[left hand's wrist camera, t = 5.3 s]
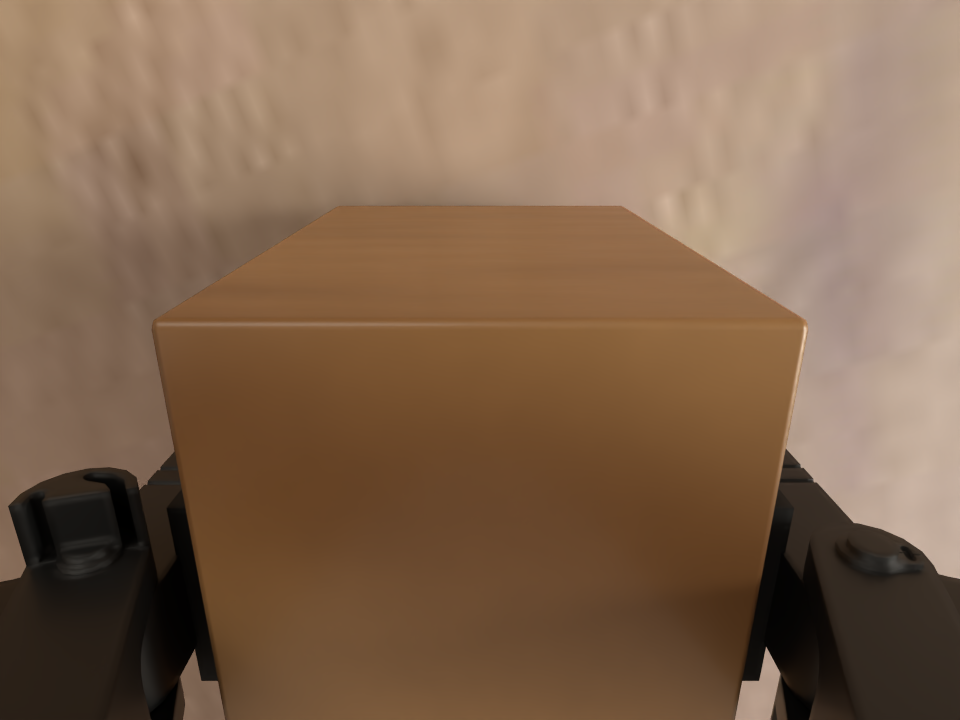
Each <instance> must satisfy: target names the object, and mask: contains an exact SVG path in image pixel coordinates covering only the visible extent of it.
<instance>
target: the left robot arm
mask: <svg viewBox="0 0 960 720" xmlns="http://www.w3.org/2000/svg"><path fill="white" fill-rule="evenodd" d="M8 507H9V510H10V514H11V517H12V520H13V523H14V527H15V530H16V533H17V536H18V540H19V543H20V546H21V550H22V553H23V556H24V559H25V563H26V568H25V570H24V572H23V574H22V576H21V578H17V579H13V580H8V581H3V582H0V720H183V716H184V708H185V701H184V694H183V688H182V683H181V679H180V676H181V674H182V672H183V670H184V668H185V666H186V664H187V662H188V661H189V659H190V657H191V655H192V653H193V651H194V649H195V651H196V656H197V661H198V666H199V671H200V676H201V681H218V678H217V672H216V667H215V662H214V656H213V651H212V646H211V641H210V635H209V630H208V625H207V619H206V614H205V609H204V603H203V598H202V593H201V588H200V582H199V577H198V572H197V566H196V561H195V556H194V551H193V545H192V540H191V535H190V529H189V524H188V519H187V513H186V508H185V503H184V498H183V492H182V487H181V482H180V476H179V471H178V466H177V460H176V455H175V452H174V453H173V454H172V455H171V456H170V457H169V458H168V459H167V461H166V462H165V463H164V464H163V465H162V466H161V469H160V470H157V472H156V473H155V474H154V475H153V476H152V477H151V478H150V479H149V480H148V484H147V485H144V486H143V487H142V488H141V489H140V490H139V487H138V483H137V478H136V477H135V476H134V475H132V474H131V473H130V472H128V471H127V470H122V469H116V468H110V467H108V468H89V469H84V470H79V471H75V472H70V473H65V474H62V475H59V476H57V477H54V478H51V479H49V480H46V481H43V482H41V483H39V484H37V485H35V486H34V487H32V488H30V489H28V490H27V491H25V492H23V493H21V494H20V495H19V496H18V497H17V498H16V499H15V500H14V501H13V502H12V503H11V504H10V505H9V506H8ZM766 647H767V649H768V651H769V652H770V654H771V656H772V658H773V660H774V662H775V664H776V665H777V667H778V669H779V671H780V673H781V674H780V679H779V683H778V688H777V693H776V697H775V702H774V706H773V711H772V715H771V720H960V579H957V578H952V577H947V576H943V575H939V574H938V573H937V571H936V569H935V567H934V565H933V564H932V563H931V562H930V561H929V559H928V558H927V557H926V556H925V555H924V553H923V552H922V551H920V550H919V549H917V548H916V547H915V546H913V545H912V544H910V543H909V542H907V541H906V540H904V539H902V538H900V537H898V536H895V535H893V534H891V533H889V532H886V531H884V530H882V529H878V528H874V527H870V526H866V525H862V524H857V523H853V522H852V521H851V520H850V518H849V517H848V516H847V515H846V514H845V513H844V512H843V511H842V510H841V509H840V508H839V506H838V505H837V504H836V503H835V502H834V501H833V500H832V499H831V498H830V497H829V495H828V494H827V493H826V492H825V491H824V490H823V489H822V488H821V487H820V486H819V485H818V483H814V482H813V478H812V477H811V476H810V475H809V474H808V472H807V471H806V470H805V469H804V468H801V467H800V464H799V463H798V462H797V460H796V459H795V458H794V457H793V456H792V455H791V454H790V453H789V452H788V451H787V449H786V450H785V455H784V460H783V466H782V471H781V476H780V482H779V487H778V492H777V498H776V503H775V508H774V514H773V519H772V524H771V530H770V535H769V540H768V545H767V551H766V556H765V561H764V567H763V572H762V577H761V583H760V588H759V593H758V599H757V604H756V609H755V615H754V620H753V625H752V630H751V636H750V641H749V646H748V652H747V657H746V662H745V668H744V673H743V678H742V681H759V678H760V673H761V669H762V664H763V659H764V654H765V649H766Z"/></svg>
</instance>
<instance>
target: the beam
mask: <svg viewBox="0 0 960 720" xmlns="http://www.w3.org/2000/svg"><path fill="white" fill-rule="evenodd" d="M152 333H153V339H154V344H155V349H156V355H157V360H158V365H159V370H160V376H161V381H162V386H163V392H164V397H165V402H166V408H167V413H168V418H169V423H170V429H171V434H172V439H173V445H174V450H175V455H176V460H177V466H178V471H179V476H180V482H181V487H182V492H183V498H184V503H185V508H186V513H187V519H188V524H189V529H190V535H191V540H192V545H193V551H194V556H195V561H196V566H197V572H198V577H199V582H200V588H201V593H202V598H203V603H204V609H205V614H206V619H207V625H208V630H209V635H210V641H211V646H212V651H213V656H214V662H215V667H216V672H217V678H218V683H219V688H220V693H221V699H222V704H223V709H224V715H225V720H735V716H736V710H737V705H738V700H739V694H740V689H741V684H742V678H743V673H744V668H745V662H746V657H747V652H748V646H749V641H750V636H751V630H752V625H753V620H754V615H755V609H756V604H757V599H758V593H759V588H760V583H761V577H762V572H763V567H764V561H765V556H766V551H767V545H768V540H769V535H770V530H771V524H772V519H773V514H774V508H775V503H776V498H777V492H778V487H779V482H780V476H781V471H782V466H783V460H784V455H785V450H786V445H787V439H788V434H789V429H790V423H791V418H792V413H793V407H794V402H795V397H796V391H797V386H798V381H799V375H800V370H801V365H802V360H803V354H804V349H805V344H806V338H807V333H808V326H807V322H806V320H805V319H803V318H802V317H800V316H798V315H797V314H795V313H793V312H792V311H790V310H789V309H787V308H785V307H784V306H782V305H781V304H779V303H777V302H776V301H774V300H773V299H771V298H769V297H768V296H766V295H765V294H763V293H761V292H760V291H758V290H756V289H755V288H753V287H752V286H750V285H748V284H747V283H745V282H744V281H742V280H740V279H739V278H737V277H736V276H734V275H732V274H731V273H729V272H727V271H726V270H724V269H723V268H721V267H719V266H718V265H716V264H715V263H713V262H711V261H710V260H708V259H707V258H705V257H703V256H702V255H700V254H699V253H697V252H695V251H694V250H692V249H690V248H689V247H687V246H686V245H684V244H682V243H681V242H679V241H678V240H676V239H674V238H673V237H671V236H670V235H668V234H666V233H665V232H663V231H661V230H660V229H658V228H657V227H655V226H653V225H652V224H650V223H649V222H647V221H645V220H644V219H642V218H641V217H639V216H637V215H636V214H634V213H632V212H631V211H629V210H628V209H626V208H624V207H622V206H338V207H336V208H334V209H333V210H331V211H330V212H328V213H326V214H325V215H323V216H322V217H320V218H318V219H317V220H315V221H313V222H312V223H310V224H309V225H307V226H305V227H304V228H302V229H301V230H299V231H297V232H296V233H294V234H292V235H291V236H289V237H288V238H286V239H284V240H283V241H281V242H280V243H278V244H276V245H275V246H273V247H271V248H270V249H268V250H267V251H265V252H263V253H262V254H260V255H259V256H257V257H255V258H254V259H252V260H250V261H249V262H247V263H246V264H244V265H242V266H241V267H239V268H238V269H236V270H234V271H233V272H231V273H230V274H228V275H226V276H225V277H223V278H221V279H220V280H218V281H217V282H215V283H213V284H212V285H210V286H209V287H207V288H205V289H204V290H202V291H200V292H199V293H197V294H196V295H194V296H192V297H191V298H189V299H188V300H186V301H184V302H183V303H181V304H179V305H178V306H176V307H175V308H173V309H171V310H170V311H168V312H167V313H165V314H163V315H162V316H160V317H158V318H157V319H155V320H154V322H153V325H152Z"/></svg>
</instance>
